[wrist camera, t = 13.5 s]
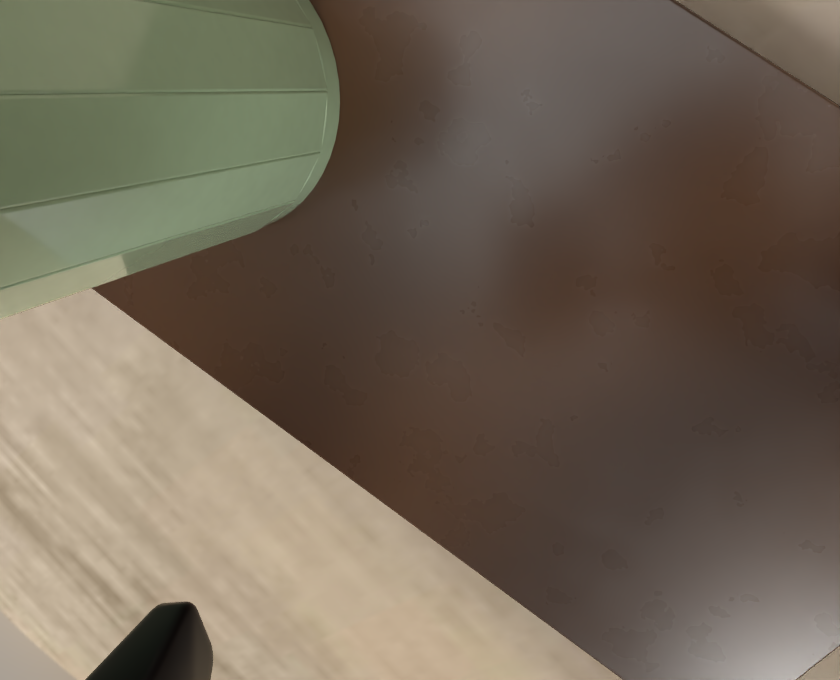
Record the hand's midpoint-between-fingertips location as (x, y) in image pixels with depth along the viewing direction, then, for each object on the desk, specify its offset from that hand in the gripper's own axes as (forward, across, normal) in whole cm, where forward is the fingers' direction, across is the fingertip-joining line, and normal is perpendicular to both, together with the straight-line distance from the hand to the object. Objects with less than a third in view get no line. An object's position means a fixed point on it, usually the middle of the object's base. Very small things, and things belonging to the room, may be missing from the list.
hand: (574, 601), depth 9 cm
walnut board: (+12, +1, 0) cm, 12 cm away
